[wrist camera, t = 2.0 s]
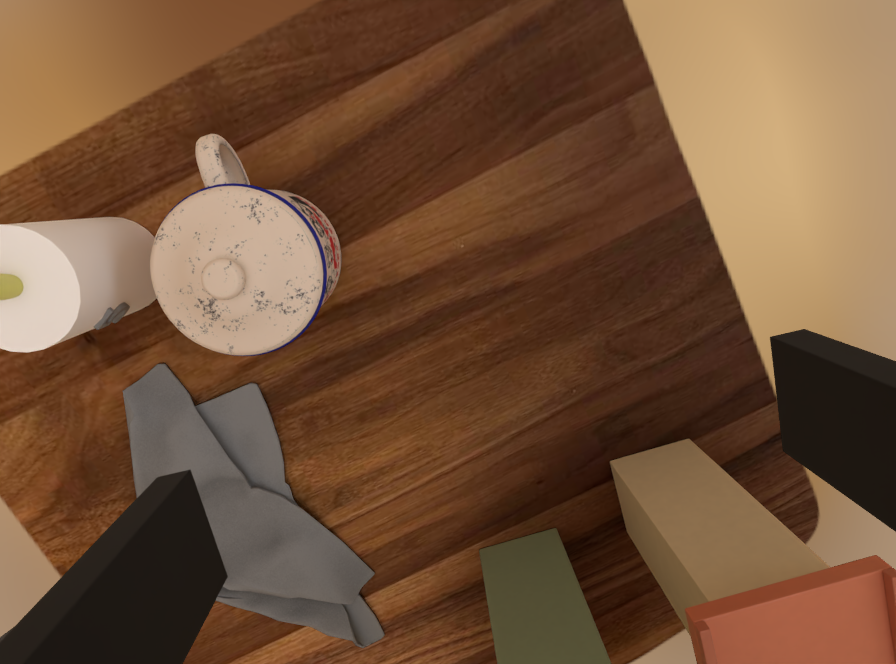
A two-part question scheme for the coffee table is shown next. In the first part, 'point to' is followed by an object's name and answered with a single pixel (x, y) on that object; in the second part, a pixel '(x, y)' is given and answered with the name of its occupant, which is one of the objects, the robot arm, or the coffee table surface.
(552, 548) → the mint green pillar
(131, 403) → the cloth
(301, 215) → the teacup with lid
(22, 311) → the candle
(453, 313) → the coffee table surface
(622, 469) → the red-capped tan pillar
